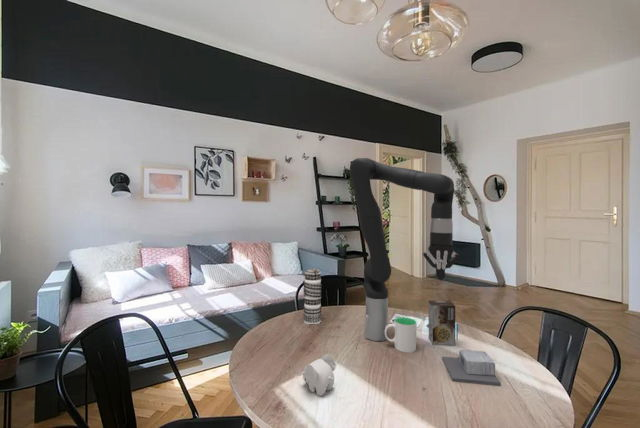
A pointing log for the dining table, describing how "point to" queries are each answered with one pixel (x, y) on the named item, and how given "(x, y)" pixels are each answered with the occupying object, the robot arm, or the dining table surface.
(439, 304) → the coffee box
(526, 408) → the dining table surface
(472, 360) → the medicine box
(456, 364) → the rubber mat
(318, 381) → the elephant figurine
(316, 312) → the decorative candle
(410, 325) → the mug
